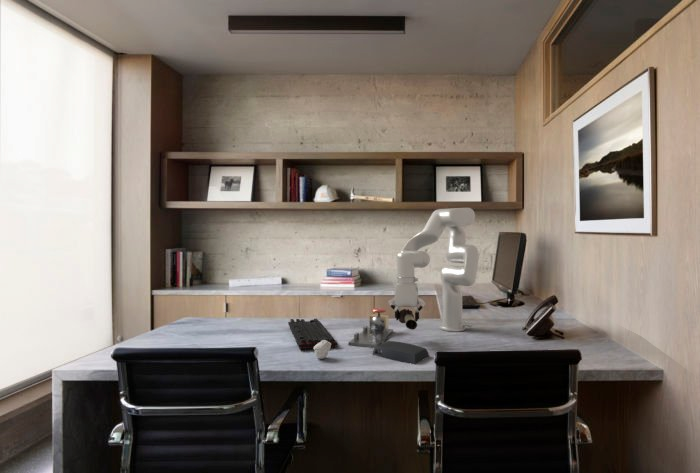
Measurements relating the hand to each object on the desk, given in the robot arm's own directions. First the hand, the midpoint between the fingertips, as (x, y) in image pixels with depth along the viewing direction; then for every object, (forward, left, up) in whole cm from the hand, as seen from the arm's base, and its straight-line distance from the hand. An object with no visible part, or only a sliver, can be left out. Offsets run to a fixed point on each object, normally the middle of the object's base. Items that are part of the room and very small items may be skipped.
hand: (407, 319), depth 175 cm
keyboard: (+44, +6, -11) cm, 46 cm away
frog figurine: (+26, +33, -10) cm, 43 cm away
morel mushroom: (-1, +2, -2) cm, 2 cm away
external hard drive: (-1, +19, -10) cm, 22 cm away
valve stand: (+16, -2, -10) cm, 19 cm away
